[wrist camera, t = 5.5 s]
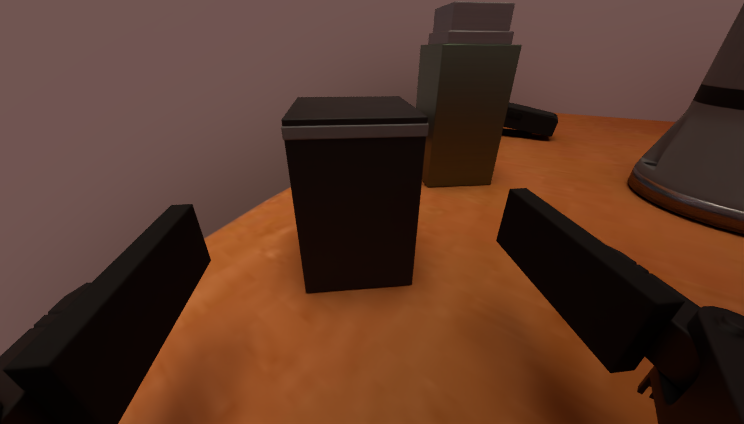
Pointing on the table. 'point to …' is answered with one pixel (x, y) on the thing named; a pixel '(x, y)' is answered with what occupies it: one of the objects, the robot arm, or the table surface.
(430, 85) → the olive square canister
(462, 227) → the table surface
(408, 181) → the dark lidded box
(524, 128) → the walkie-talkie
